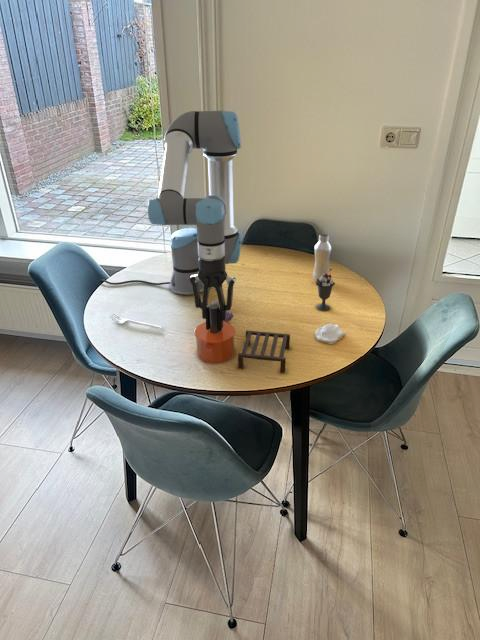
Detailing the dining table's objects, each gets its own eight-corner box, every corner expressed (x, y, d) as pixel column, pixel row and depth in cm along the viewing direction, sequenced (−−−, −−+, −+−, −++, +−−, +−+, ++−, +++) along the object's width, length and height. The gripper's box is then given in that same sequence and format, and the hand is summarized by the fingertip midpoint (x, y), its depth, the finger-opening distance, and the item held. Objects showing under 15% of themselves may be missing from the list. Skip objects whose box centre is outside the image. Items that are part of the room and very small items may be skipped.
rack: (238, 368, 143) (237, 354, 140) (246, 343, 155) (246, 330, 152) (284, 373, 141) (285, 359, 138) (289, 347, 152) (290, 334, 150)
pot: (190, 366, 144) (189, 345, 140) (204, 336, 158) (203, 317, 155) (227, 370, 142) (227, 349, 138) (238, 340, 156) (238, 320, 153)
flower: (214, 319, 155) (224, 295, 160) (195, 322, 160) (205, 299, 165) (231, 336, 160) (240, 312, 165) (212, 338, 166) (221, 315, 171)
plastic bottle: (329, 286, 190) (334, 238, 180) (312, 286, 190) (316, 238, 180) (327, 279, 196) (331, 232, 186) (311, 279, 196) (314, 232, 186)
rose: (348, 333, 151) (317, 333, 151) (347, 345, 153) (316, 345, 153) (343, 317, 160) (314, 317, 160) (342, 329, 162) (313, 329, 162)
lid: (189, 342, 143) (187, 314, 138) (200, 322, 153) (198, 295, 148) (230, 347, 140) (229, 318, 136) (238, 325, 151) (238, 298, 146)
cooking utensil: (160, 331, 161) (159, 326, 160) (109, 321, 167) (108, 317, 166) (164, 327, 164) (164, 322, 163) (114, 317, 170) (113, 312, 169)
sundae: (334, 305, 176) (338, 268, 169) (329, 313, 171) (333, 275, 164) (317, 301, 179) (320, 264, 171) (311, 309, 174) (314, 272, 166)
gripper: (179, 259, 132) (185, 332, 144) (237, 263, 129) (238, 337, 141) (187, 249, 138) (192, 319, 150) (242, 253, 136) (243, 324, 148)
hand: (214, 328), depth 146 cm, fingers closed on lid, 3 cm apart
